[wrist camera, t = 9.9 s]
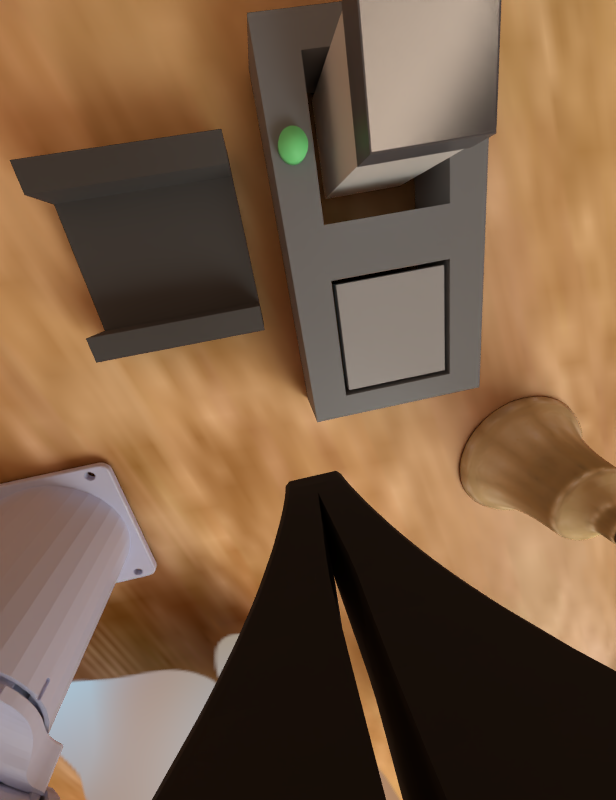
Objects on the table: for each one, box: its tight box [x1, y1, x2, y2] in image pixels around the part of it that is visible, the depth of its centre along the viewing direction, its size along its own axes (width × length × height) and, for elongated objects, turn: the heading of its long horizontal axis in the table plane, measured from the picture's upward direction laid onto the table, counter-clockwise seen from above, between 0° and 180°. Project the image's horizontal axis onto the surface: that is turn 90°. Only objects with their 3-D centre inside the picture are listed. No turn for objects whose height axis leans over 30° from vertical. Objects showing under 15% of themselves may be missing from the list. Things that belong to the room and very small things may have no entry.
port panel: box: [247, 1, 489, 422], centre depth 14 cm, size 8×14×3 cm, turn 9°
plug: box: [312, 0, 501, 199], centre depth 11 cm, size 4×4×6 cm
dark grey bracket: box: [10, 129, 264, 363], centre depth 14 cm, size 7×7×2 cm
